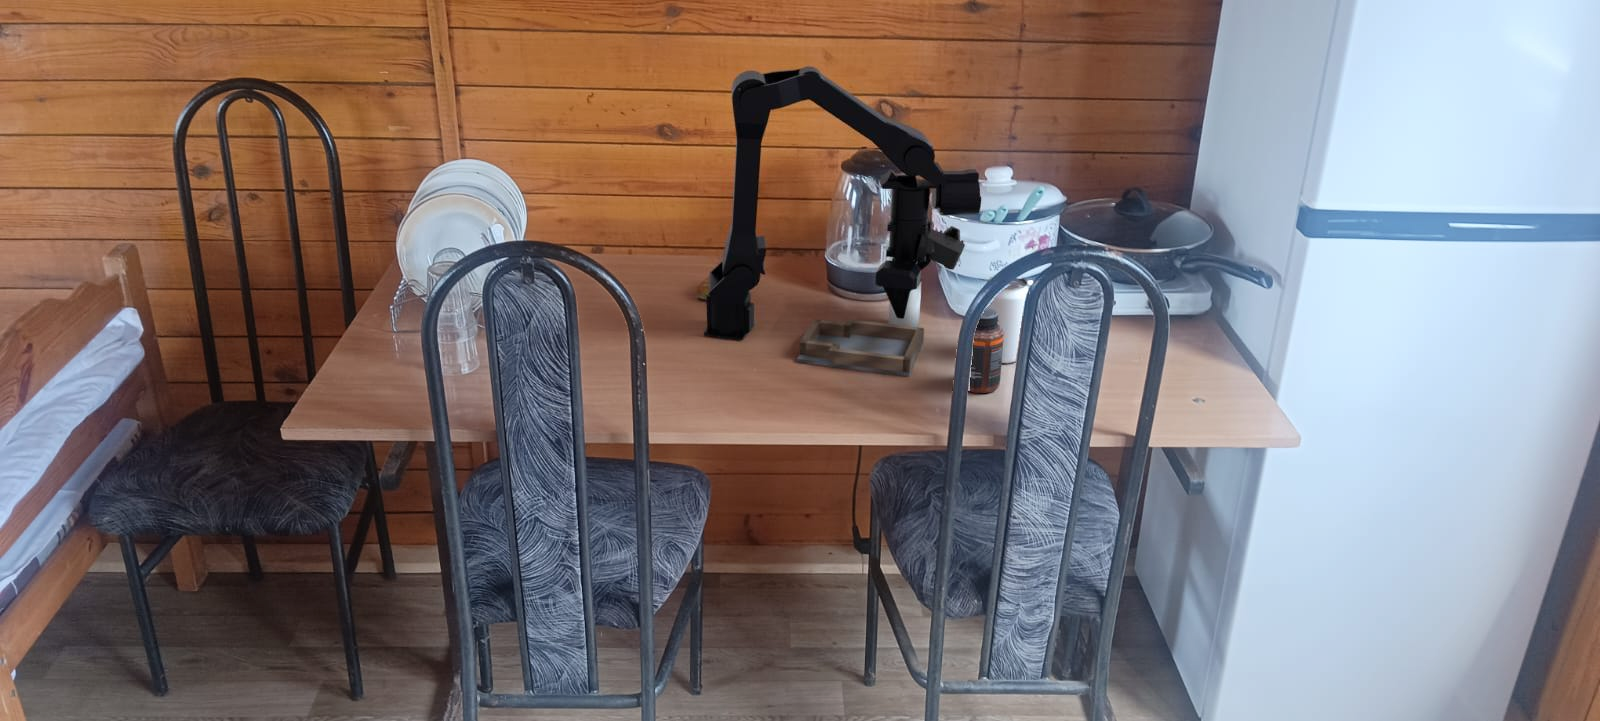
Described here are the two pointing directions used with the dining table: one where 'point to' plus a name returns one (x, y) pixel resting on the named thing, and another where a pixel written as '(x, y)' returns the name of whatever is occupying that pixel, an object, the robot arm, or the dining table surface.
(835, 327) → the tray
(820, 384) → the dining table surface
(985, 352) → the supplement bottle
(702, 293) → the pastry
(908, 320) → the peg
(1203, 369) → the dining table surface
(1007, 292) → the can
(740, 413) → the dining table surface
